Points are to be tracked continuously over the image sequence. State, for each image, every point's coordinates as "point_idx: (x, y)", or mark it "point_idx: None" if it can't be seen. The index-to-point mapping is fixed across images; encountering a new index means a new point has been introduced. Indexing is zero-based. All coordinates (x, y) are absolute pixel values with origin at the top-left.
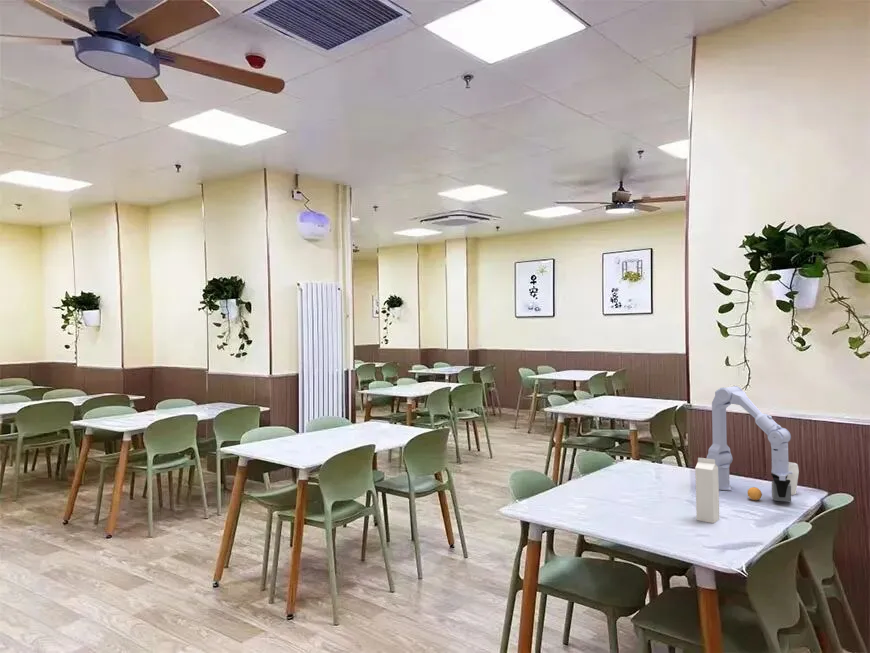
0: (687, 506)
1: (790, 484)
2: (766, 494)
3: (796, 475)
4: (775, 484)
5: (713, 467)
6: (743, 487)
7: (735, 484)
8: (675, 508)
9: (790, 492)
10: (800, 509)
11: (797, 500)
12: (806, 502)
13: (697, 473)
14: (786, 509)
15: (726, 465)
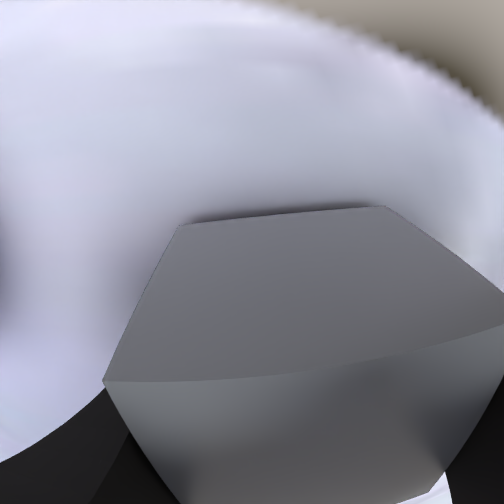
0: (432, 501)
1: None
2: (76, 378)
3: None
4: (416, 487)
5: None
6: (31, 443)
7: (15, 453)
8: (447, 501)
9: (450, 261)
10: (480, 131)
11: (124, 130)
12: (174, 36)
13: None
14: (496, 242)
15: None
